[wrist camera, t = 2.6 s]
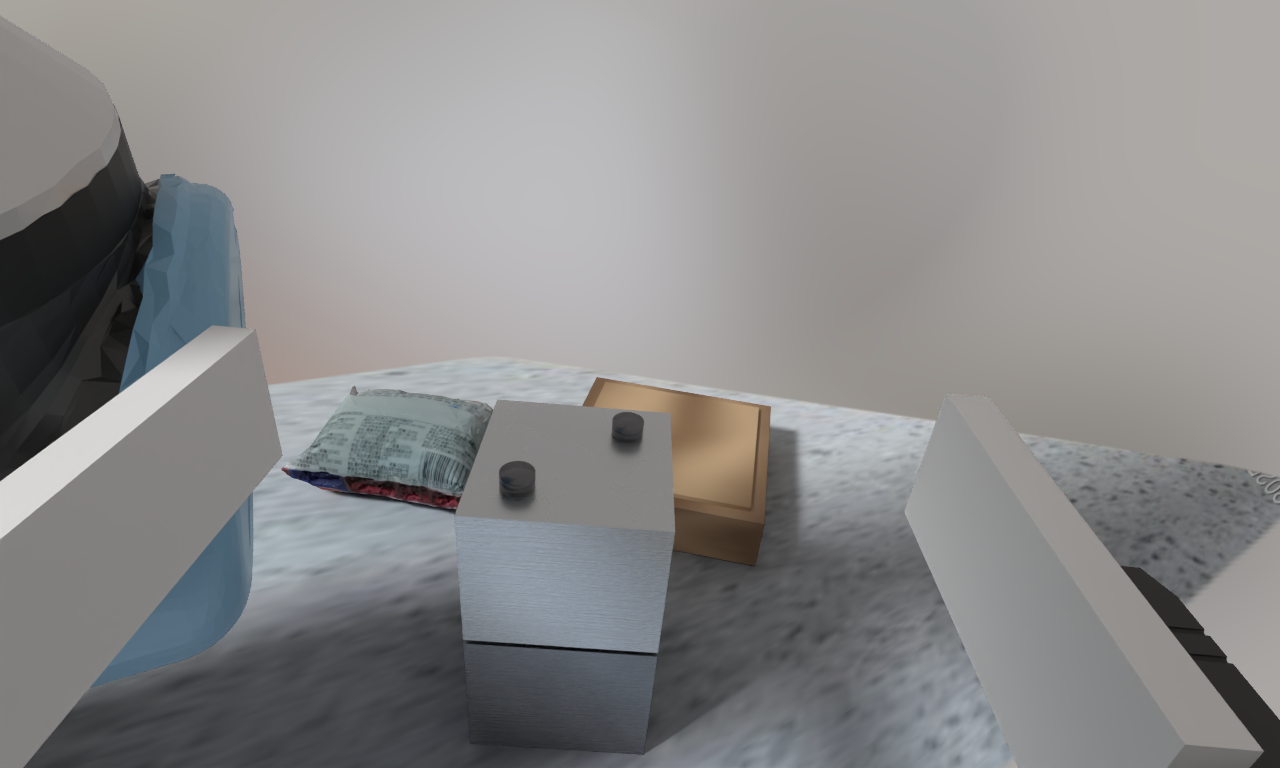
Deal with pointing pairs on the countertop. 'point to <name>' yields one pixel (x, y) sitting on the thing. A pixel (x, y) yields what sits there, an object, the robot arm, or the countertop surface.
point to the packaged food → (396, 447)
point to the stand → (707, 465)
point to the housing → (565, 575)
